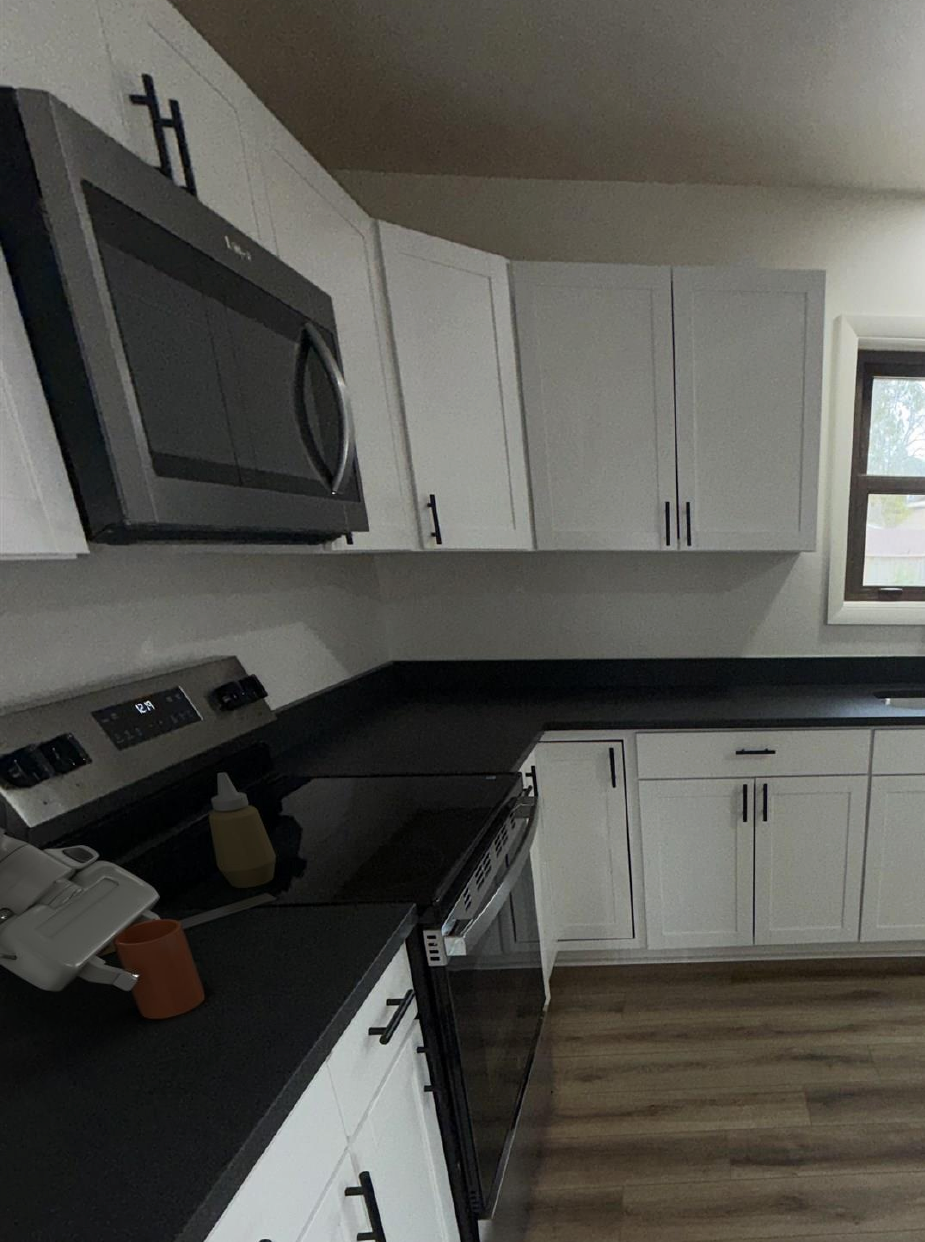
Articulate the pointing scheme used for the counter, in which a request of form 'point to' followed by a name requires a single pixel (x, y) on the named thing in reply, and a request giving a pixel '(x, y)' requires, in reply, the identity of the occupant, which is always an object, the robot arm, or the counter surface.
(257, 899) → the knife
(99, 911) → the robot arm
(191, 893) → the counter surface
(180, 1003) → the cup
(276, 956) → the counter surface
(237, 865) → the squeeze bottle
